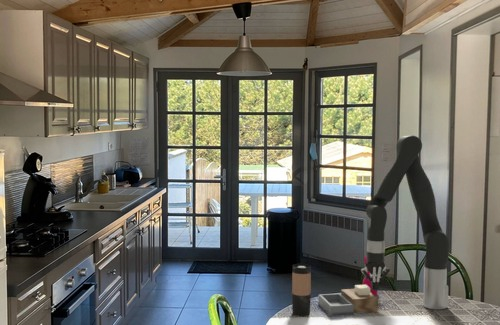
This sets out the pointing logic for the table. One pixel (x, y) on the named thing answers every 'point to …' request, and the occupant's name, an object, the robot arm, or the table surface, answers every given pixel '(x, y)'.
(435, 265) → the robot arm
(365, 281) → the pepper mill
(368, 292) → the cream square block
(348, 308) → the box
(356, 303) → the ledge
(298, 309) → the travel mug
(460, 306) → the table surface
